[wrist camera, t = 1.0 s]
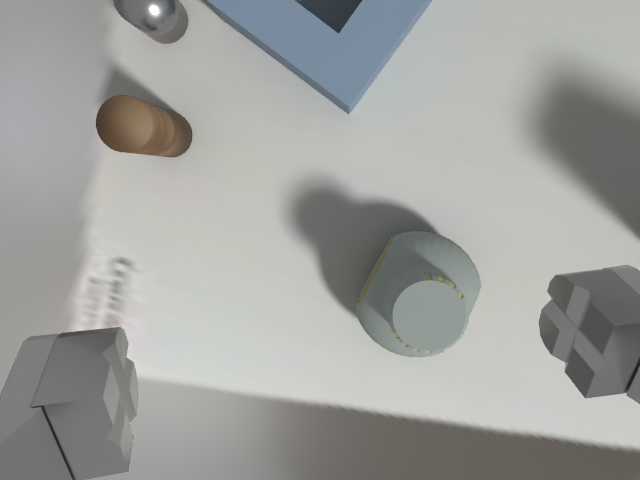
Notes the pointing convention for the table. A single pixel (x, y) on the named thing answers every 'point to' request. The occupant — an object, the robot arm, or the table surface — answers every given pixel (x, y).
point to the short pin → (155, 18)
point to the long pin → (142, 128)
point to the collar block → (326, 40)
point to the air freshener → (418, 294)
